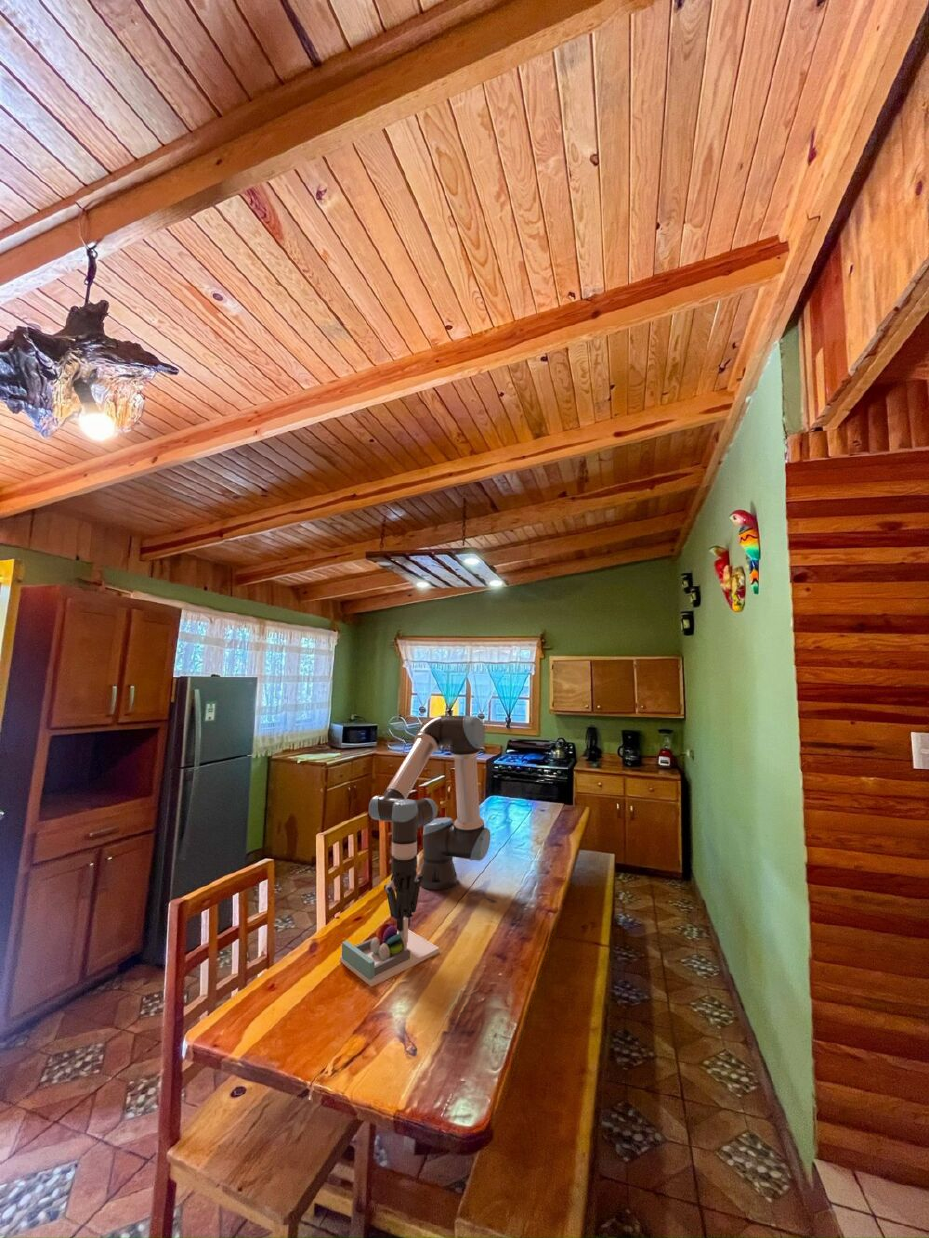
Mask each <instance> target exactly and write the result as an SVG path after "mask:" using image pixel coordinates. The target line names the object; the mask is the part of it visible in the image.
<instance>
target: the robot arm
mask: <svg viewBox="0 0 929 1238" xmlns="http://www.w3.org/2000/svg"><path fill="white" fill-rule="evenodd" d="M416 733H417V734H415V737H414V738H413V739H414V740H413V741H414V743H413V745H412V747H411V748H410V750H409V751H408V753H407V754H406V756H405V758H404V760H403V762H402V763H401V765H400V766H399V768H398V769H397V771H396V772H395V774H394V776H393V778H392V779H391V781H390V783H389V785H387V788H386V789H385V790H384V793H383V794H382V795H380V794H379V795H375V796H373V797H372V798H371V799H370V801H369V803H368V814H369V816H370V818H371V819H373V820H377V821H380V822H389V823H391V828H392V829H391V830H392V831H391V834H392V835H391V868H390V869H391V877H390V881H389V883H388V884H384V886H383V889H384V891H385V893H386V896H387V901H388V906H389V907H388V908H389V914H390V917H392V918H394V919H395V920H396V929H397V931H398V934H400V935H401V936H403V937H404V938H405V939H406V941H407V942H408V929H409V928H410V926H411V918H412V917H413V913H416V911H417V904H418V899H419V895H420V888H421V887H422V888H424V889H428V890H435V891H436V890H438V891H439V890H446V889H449V888H452V887H454V886H456V885H457V883H458V874H457V871H456V868H455V864H454V861H453V859H454V858H458V859H464V860H469V861H479V862H480V861H482V860H484V858H485V857H486V856H487V854H488V851H489V848H490V844H491V831H490V828H488V827H485V820H484V819H483V818H481V816H480V814H481V813H480V796H479V777H478V762H477V761H478V760H477V758H478V757H477V755H478V754H479V753H480V752H481V749H482V748H483V747H484V746H485V742H486V740H485V739H486V731H485V727H484V724H483V722H482V721H481V719H480V718H479V717H476V716H470V715H445V714H443V715H438V716H436V717H434V718H432V719H430V720H429V721H428V722H426V723H425V724H424V725H423V726H422V727H421V728H420V729H419V730H418V731H417V732H416ZM440 747H449V753H450V755H452V757H453V759H454V777H455V778H454V779H455V796H456V815H457V817H456V819H455V820H453V818H451V817H437V815H438V811H439V809H438V804H437V803H436V802H435V800H433V798H429V797H428V798H427V797H425V798H421V799H419V800H417V799H409V798H408V796H409V794H410V793H411V791H412V789H413V787H414V786H415V784H416V782H417V780H418V779H419V777H420V775H421V773H422V771H423V769H424V768H425V766H426V764H427V762H428V761H429V759H430V758H431V755H432V754H433V753H435V752H437V751H438V748H440ZM421 828H423V831H422V832H423V833H422V863H421V866H420V867H421V868H420V871H419V872H417V869H418V857H417V854H418V830H419V829H421ZM418 873H419V874H418Z"/></svg>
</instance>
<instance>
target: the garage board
mask: <svg viewBox="0 0 929 1238" xmlns="http://www.w3.org/2000/svg"><path fill="white" fill-rule="evenodd" d="M397 934H398V930H397ZM375 937H376V936H375ZM375 937H372V938H370V939H368V940H365V941H363V942H360V943H358V944H355V945H354V944H353V943H351V942H349V941H348V940H345V941H342V943H341V955H340V956H339V962H340V963H341V964H343V965H344V966H345V967H346V968H347V969H348V970H350V971H351V972H352V973H353V974H355V975H356V976H357V977H359V978H360V979H361V980H362V981H364V982H365V983H366V984H367V985H368V986H370V987H371V988H373V987H374V986H376V985H378V984H380V983H382V982H384V981H386V980H387V979H389V978H392V977H394V976H396V975H398V974H399V973H402V972H403V971H406V970H408V969H409V968H411V967H413V966H416V965H417V964H419V963H421V962H423V961H425V960H427V959H429V958H431V957H433V956H435V955H437V954H439V953H440V947H439V946H437V945H435V944H433V943H432V942H430V941H428V940H427V939H426V938H424V937H422V936H421V935H418V934H417V933H415V932H413V931H412V930H410V929H409V928H408V942H407V947H406V949H405V951H404V952H399V953H396V954H390V957H389V959H387V960H383V959H381V958H380V956H379V954H375V953H373V952H372V951H371V948H370V944H371V941H372V940H373V939H374V938H375Z"/></svg>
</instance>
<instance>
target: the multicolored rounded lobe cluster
mask: <svg viewBox="0 0 929 1238" xmlns="http://www.w3.org/2000/svg"><path fill="white" fill-rule="evenodd" d="M397 931H398V930H397V926H394V925H391V924H390V923H389V922H387V923H383V924H382V925H381V926H380V927H379V928H378V929H377V930H376V933H375V934H376V936H375V938H374V937H373V938H374V939H373V940H372V941H371V944H370V948H371V951H372V952H373V953H375V954H379V956H380V958H381V959H383V960H387V959H389V957H390V954H396V953H399V952H404V951H405V949H406V947H407V941H406V939H405V938H404V937H403V936H401V935H400V934H397Z"/></svg>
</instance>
